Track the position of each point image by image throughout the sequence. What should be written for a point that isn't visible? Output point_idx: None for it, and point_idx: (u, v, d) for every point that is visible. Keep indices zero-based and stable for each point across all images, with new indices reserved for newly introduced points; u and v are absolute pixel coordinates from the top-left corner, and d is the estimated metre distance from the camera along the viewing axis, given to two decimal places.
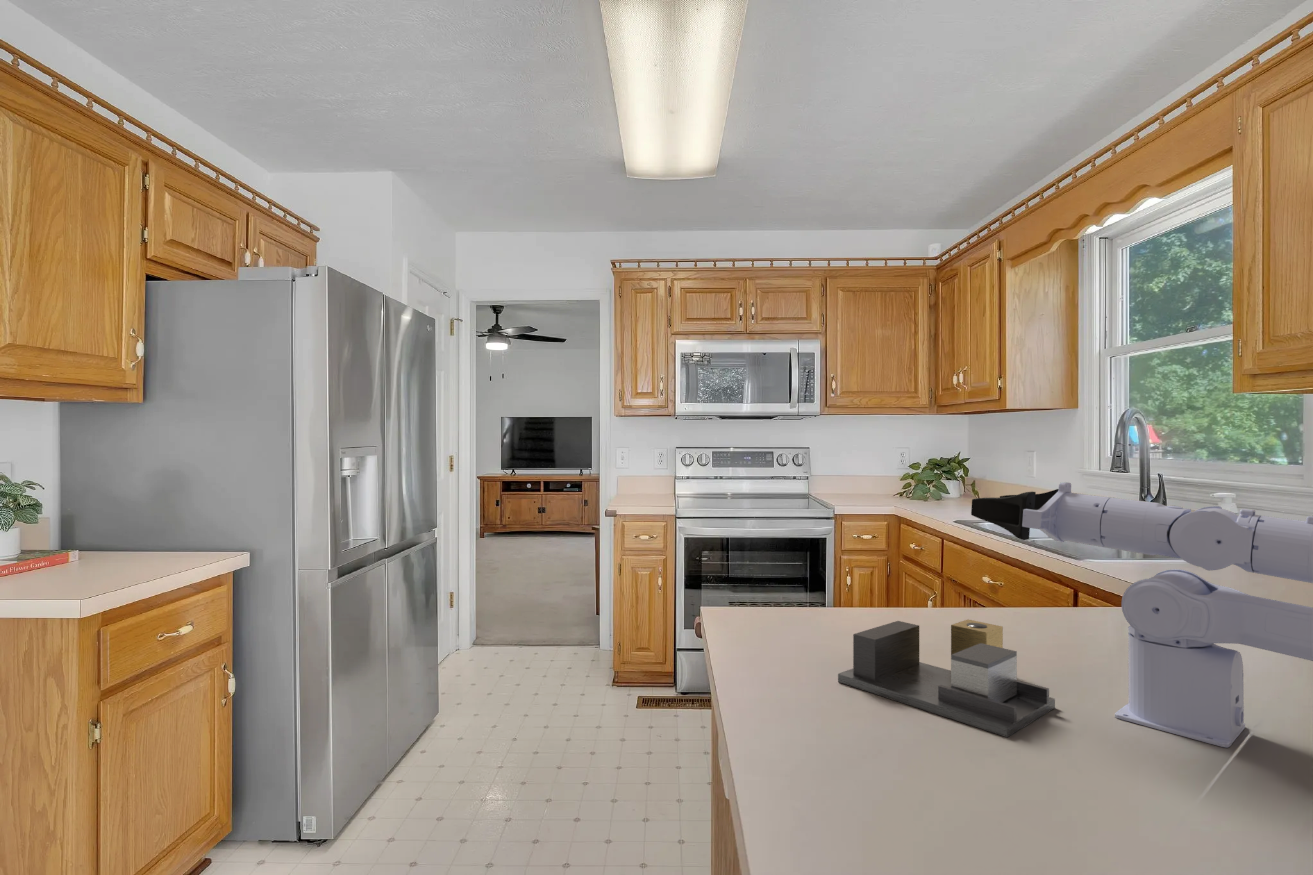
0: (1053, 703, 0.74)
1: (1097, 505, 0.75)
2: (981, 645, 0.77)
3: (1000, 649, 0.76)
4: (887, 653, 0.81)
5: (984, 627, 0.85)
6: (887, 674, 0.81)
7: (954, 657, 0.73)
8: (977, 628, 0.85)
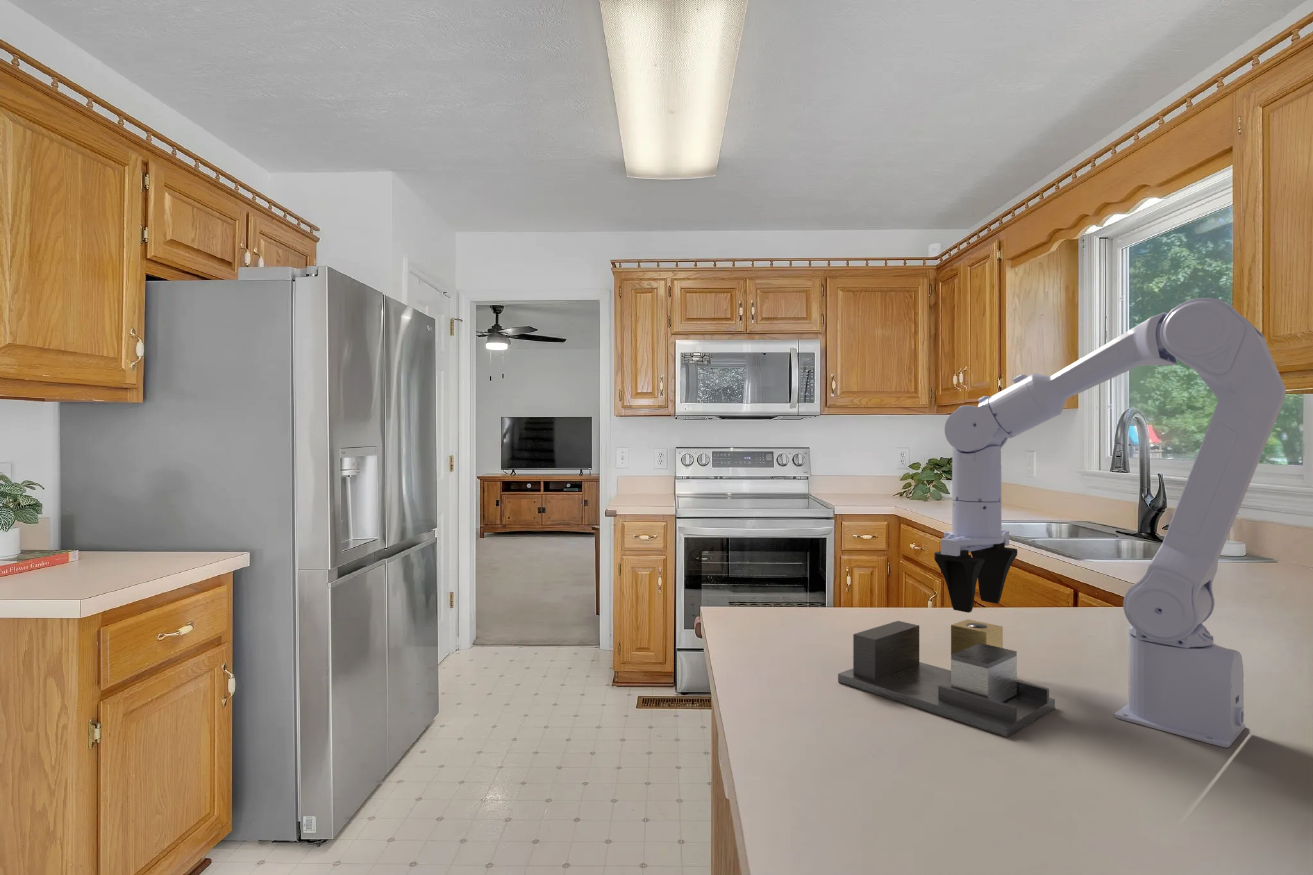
0: (1053, 703, 0.74)
1: (955, 505, 0.87)
2: (981, 645, 0.77)
3: (1000, 649, 0.76)
4: (887, 653, 0.81)
5: (984, 627, 0.85)
6: (887, 674, 0.81)
7: (954, 657, 0.73)
8: (977, 628, 0.85)
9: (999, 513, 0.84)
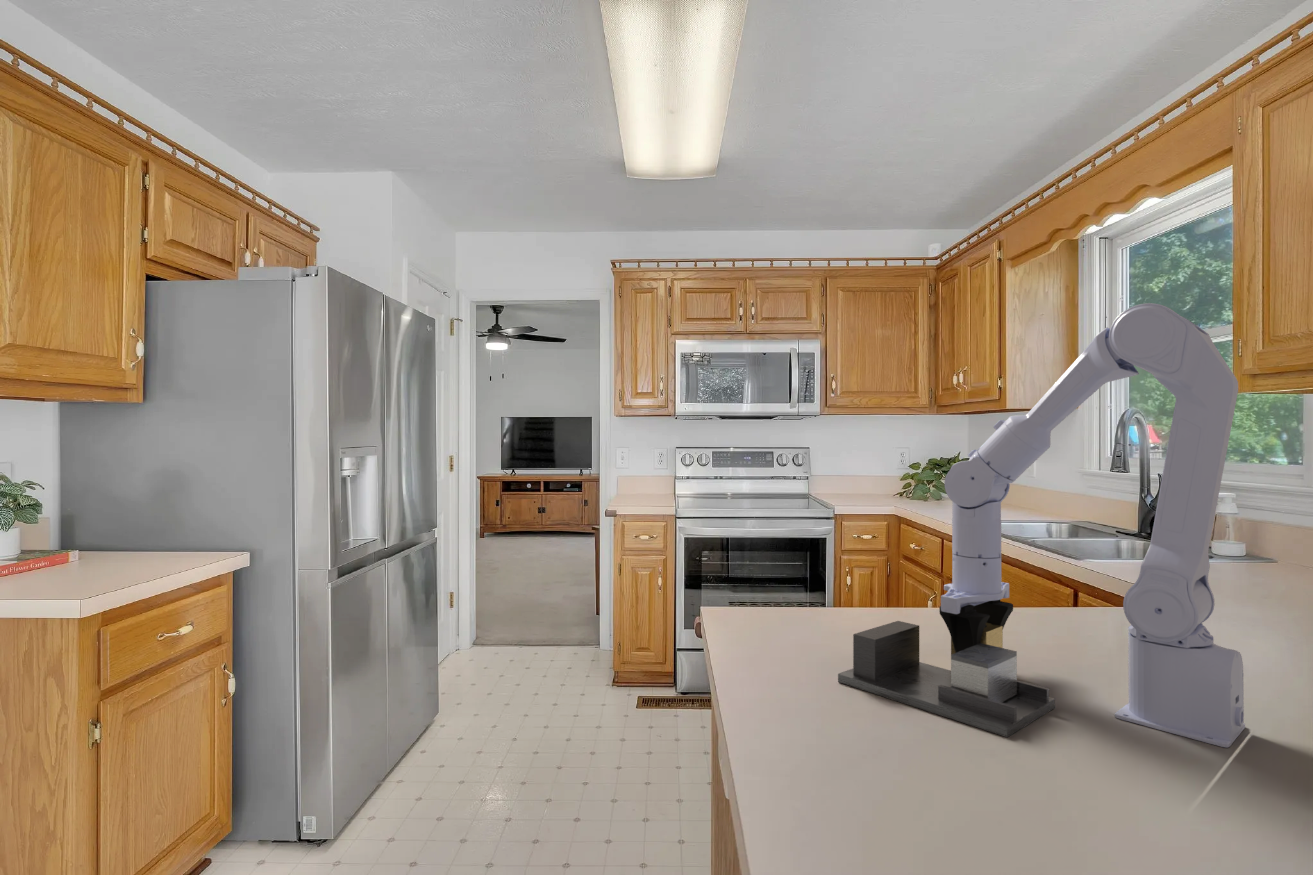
0: (1053, 703, 0.74)
1: None
2: (981, 645, 0.77)
3: (1000, 649, 0.76)
4: (887, 653, 0.81)
5: None
6: (887, 674, 0.81)
7: (954, 657, 0.73)
8: None
9: (999, 569, 0.84)
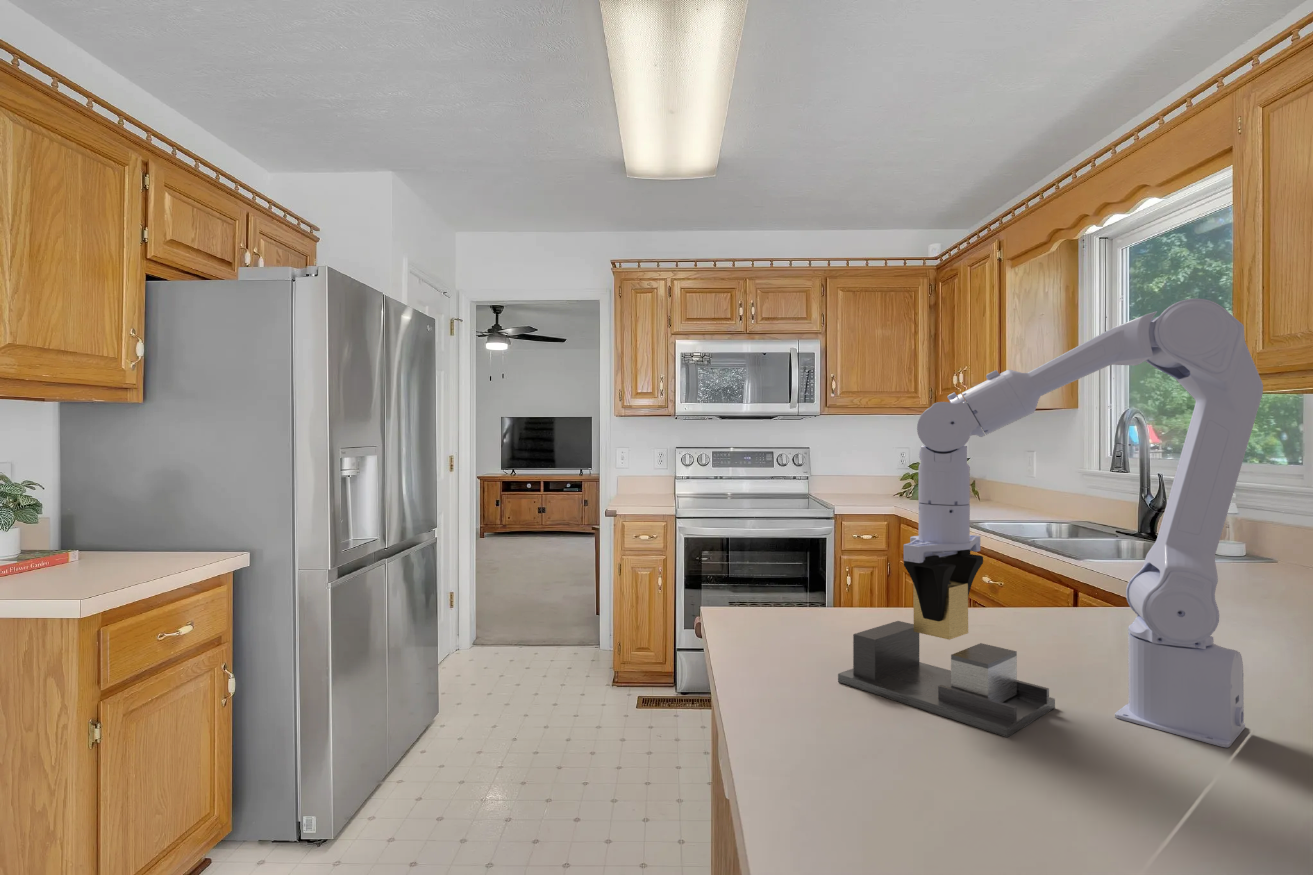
0: (1053, 703, 0.74)
1: None
2: (981, 645, 0.77)
3: (1000, 649, 0.76)
4: (887, 653, 0.81)
5: (948, 584, 0.80)
6: (887, 674, 0.81)
7: (954, 657, 0.73)
8: None
9: (967, 517, 0.79)
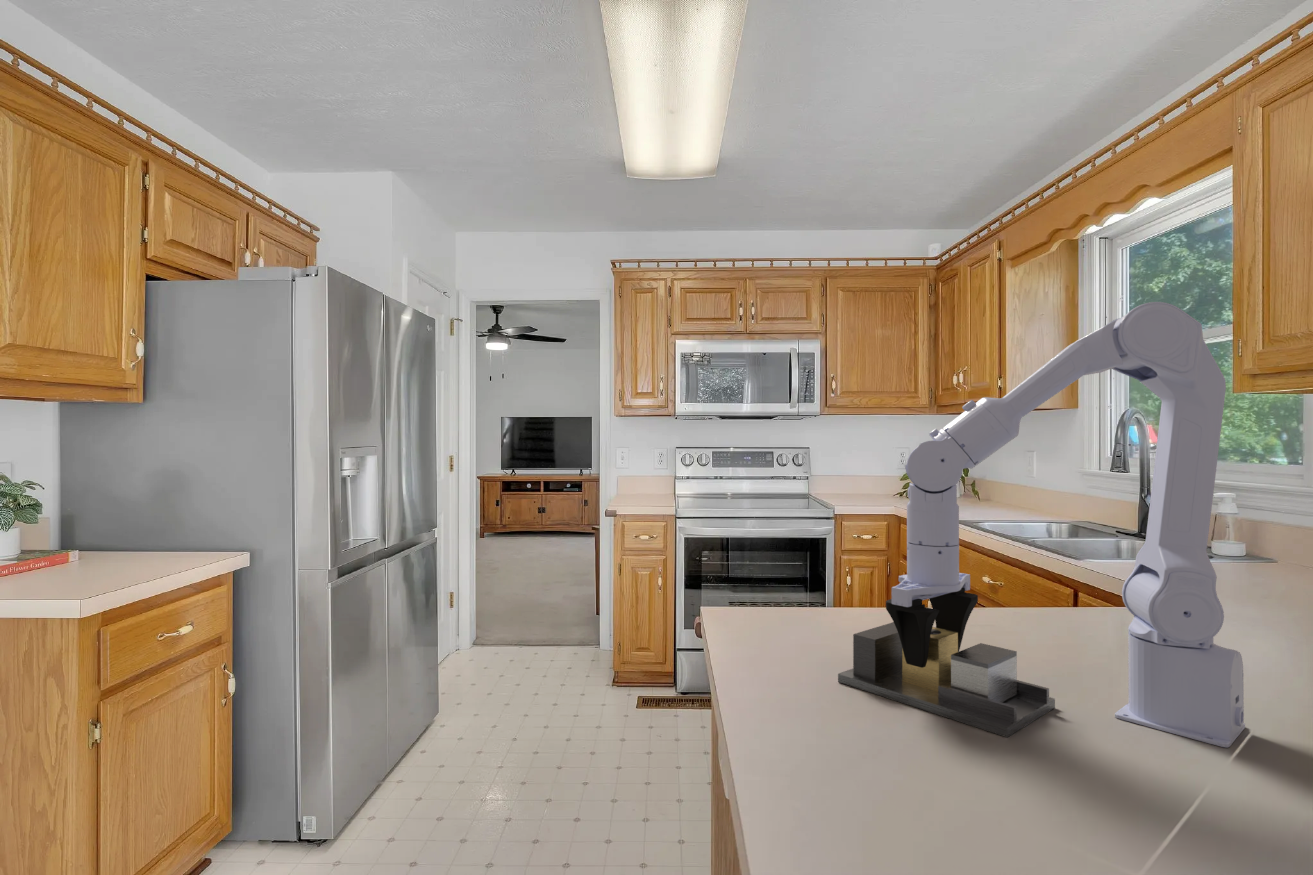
0: (1053, 703, 0.74)
1: None
2: (981, 645, 0.77)
3: (1000, 649, 0.76)
4: (887, 653, 0.81)
5: (937, 633, 0.78)
6: (887, 674, 0.81)
7: (954, 657, 0.73)
8: None
9: (956, 558, 0.77)
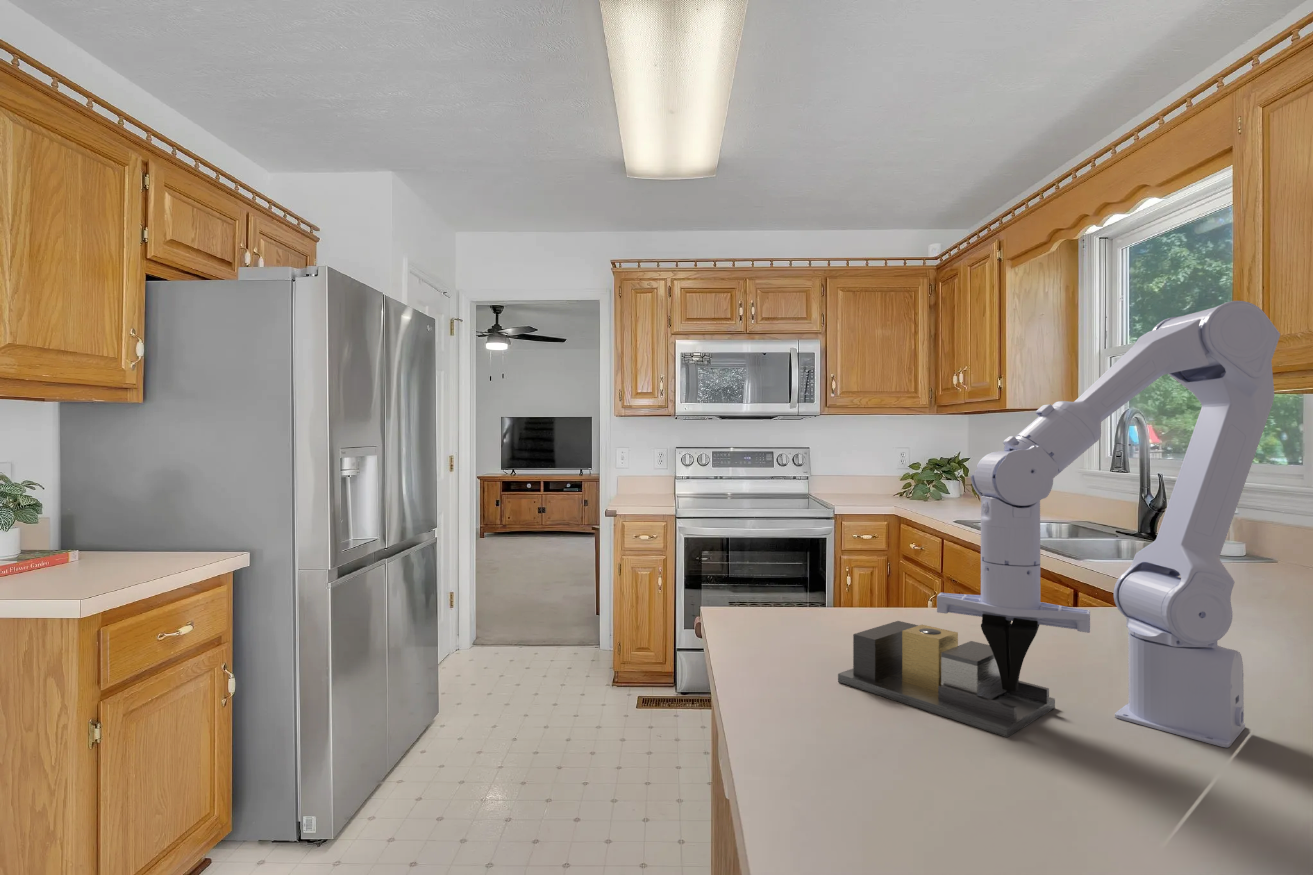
0: (1053, 703, 0.74)
1: None
2: (971, 643, 0.78)
3: (990, 647, 0.77)
4: (887, 653, 0.81)
5: (937, 633, 0.78)
6: (887, 674, 0.81)
7: (944, 655, 0.74)
8: (929, 634, 0.78)
9: (1008, 579, 0.70)
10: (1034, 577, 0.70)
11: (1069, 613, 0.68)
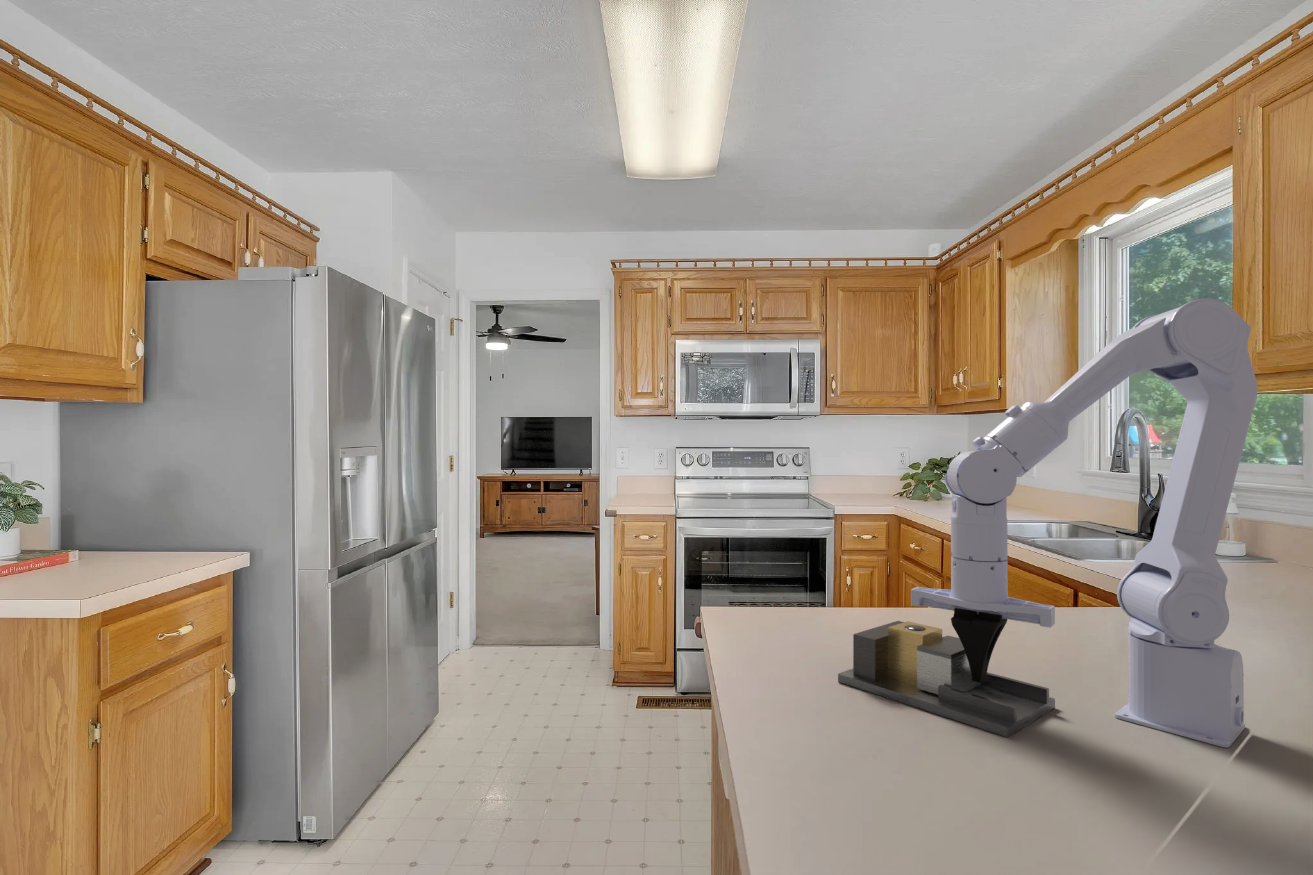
0: (1053, 703, 0.74)
1: None
2: (947, 637, 0.80)
3: None
4: (887, 653, 0.81)
5: (922, 630, 0.80)
6: (887, 674, 0.81)
7: (920, 648, 0.77)
8: (914, 631, 0.79)
9: (972, 574, 0.73)
10: (998, 573, 0.72)
11: (1031, 608, 0.70)
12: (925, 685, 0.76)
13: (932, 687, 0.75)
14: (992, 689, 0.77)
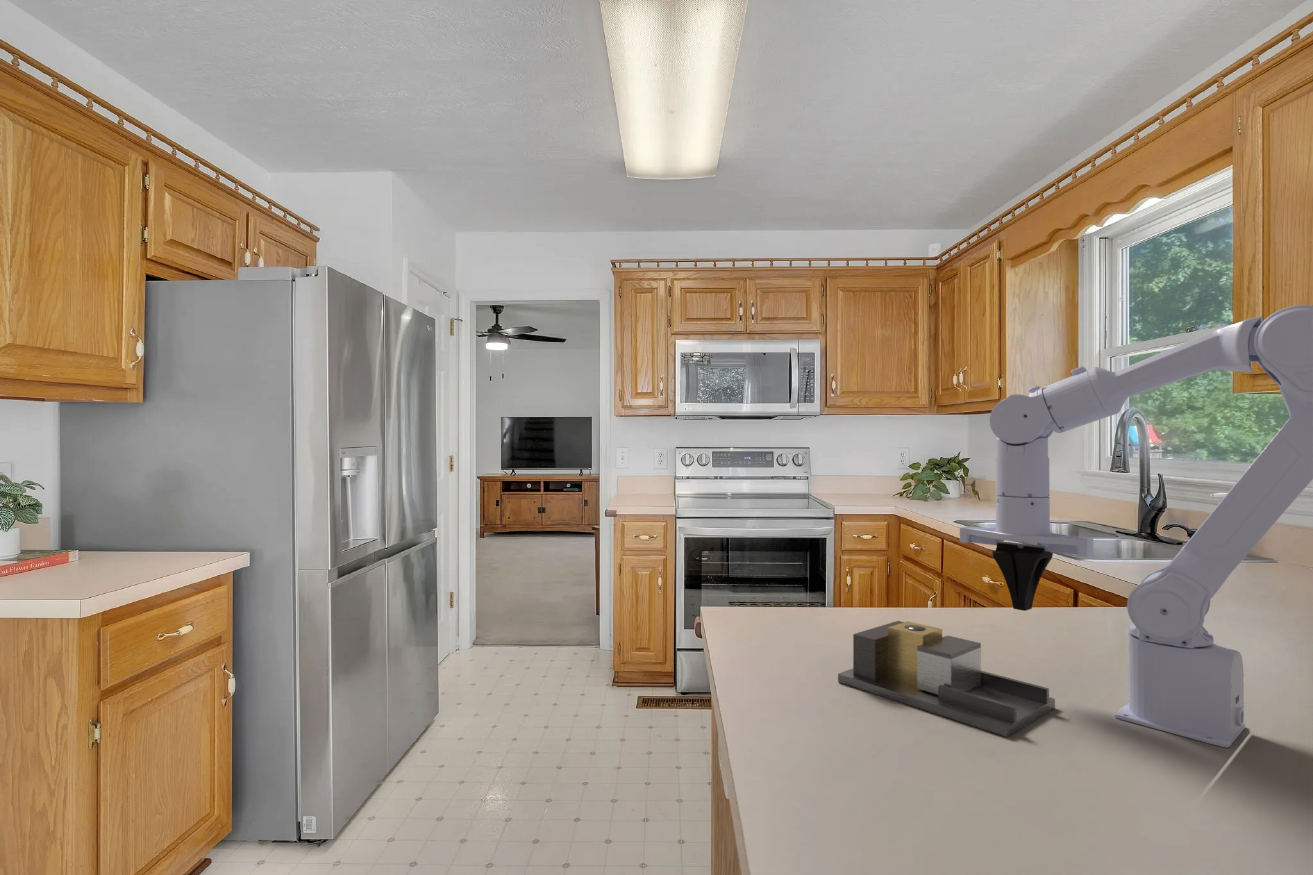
0: (1053, 703, 0.74)
1: None
2: (947, 637, 0.80)
3: (965, 641, 0.79)
4: (887, 653, 0.81)
5: (922, 630, 0.80)
6: (887, 674, 0.81)
7: (920, 648, 0.77)
8: (914, 631, 0.79)
9: (1013, 509, 0.79)
10: (1038, 508, 0.78)
11: (1068, 539, 0.76)
12: (925, 685, 0.76)
13: (932, 687, 0.75)
14: (992, 689, 0.77)
